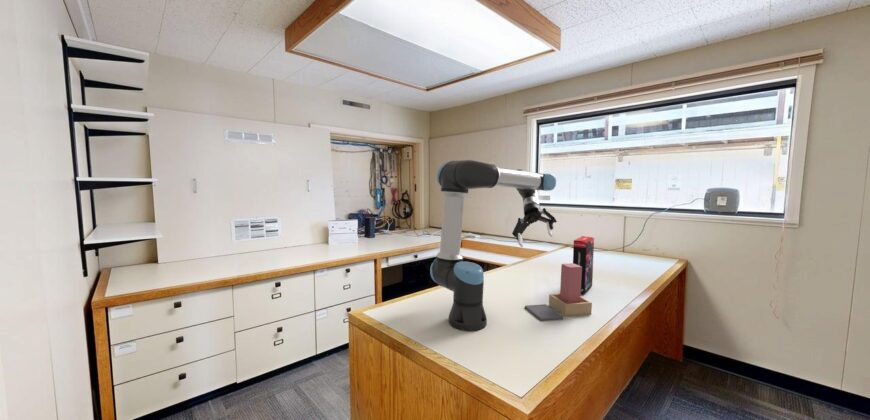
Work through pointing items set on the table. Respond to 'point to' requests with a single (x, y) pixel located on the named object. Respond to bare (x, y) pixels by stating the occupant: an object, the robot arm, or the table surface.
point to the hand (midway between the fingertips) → (535, 240)
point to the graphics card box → (584, 260)
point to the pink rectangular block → (570, 283)
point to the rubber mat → (543, 312)
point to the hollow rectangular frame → (570, 306)
